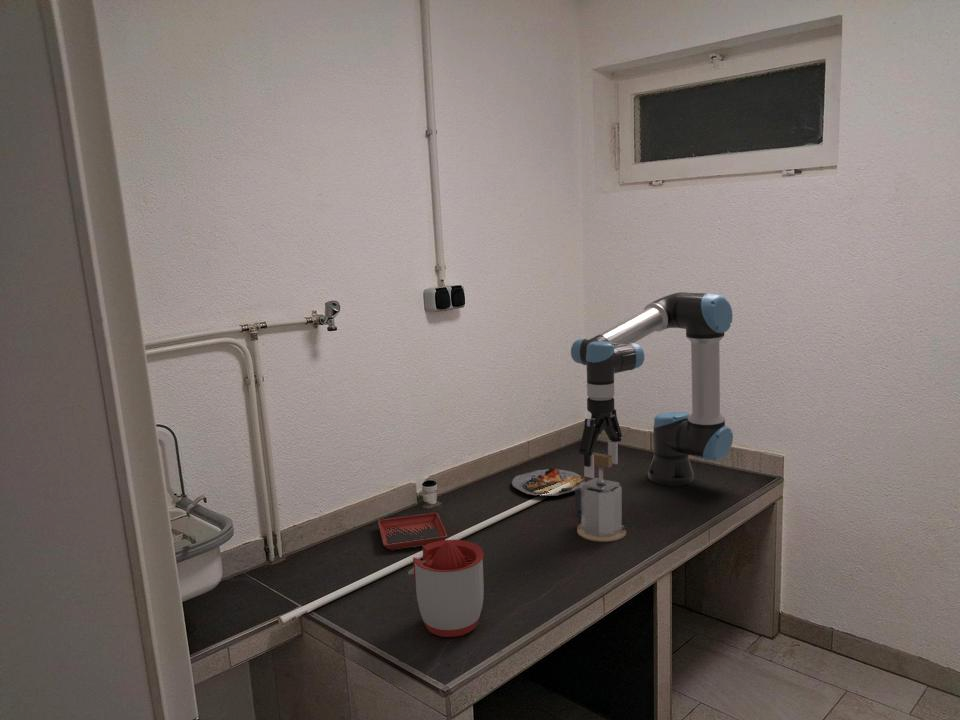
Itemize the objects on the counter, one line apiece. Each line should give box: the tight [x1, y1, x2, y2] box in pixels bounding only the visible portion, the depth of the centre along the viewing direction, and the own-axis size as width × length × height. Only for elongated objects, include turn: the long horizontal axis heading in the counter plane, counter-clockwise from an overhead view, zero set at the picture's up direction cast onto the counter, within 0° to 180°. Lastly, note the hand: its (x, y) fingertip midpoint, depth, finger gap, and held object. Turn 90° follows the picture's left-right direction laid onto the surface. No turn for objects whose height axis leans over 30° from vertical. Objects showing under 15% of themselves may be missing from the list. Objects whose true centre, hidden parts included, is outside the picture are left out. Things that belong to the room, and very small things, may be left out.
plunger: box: [592, 451, 613, 492], centre depth 208 cm, size 7×7×19 cm
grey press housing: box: [574, 477, 627, 543], centre depth 210 cm, size 14×15×15 cm
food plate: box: [511, 467, 587, 497], centre depth 248 cm, size 25×23×4 cm
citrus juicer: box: [407, 539, 485, 638], centre depth 163 cm, size 16×17×20 cm
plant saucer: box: [377, 512, 448, 550], centre depth 212 cm, size 18×18×3 cm
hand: (601, 470), depth 207 cm, fingers open, 13 cm apart
